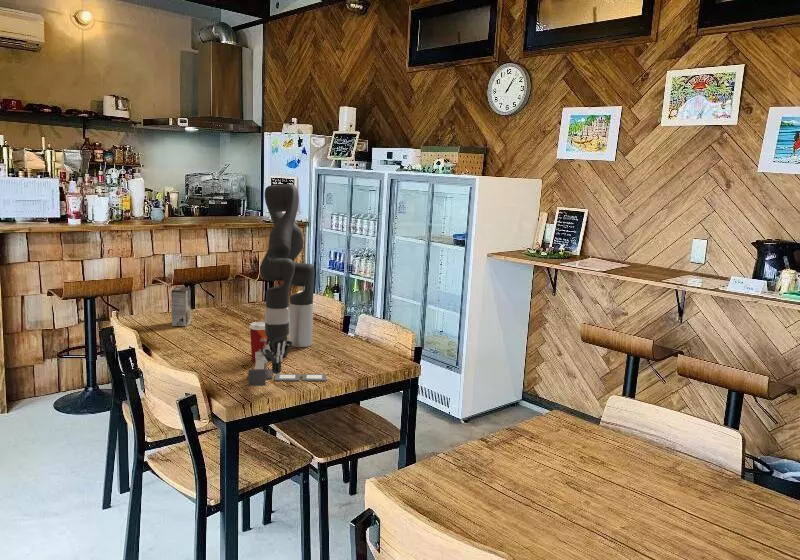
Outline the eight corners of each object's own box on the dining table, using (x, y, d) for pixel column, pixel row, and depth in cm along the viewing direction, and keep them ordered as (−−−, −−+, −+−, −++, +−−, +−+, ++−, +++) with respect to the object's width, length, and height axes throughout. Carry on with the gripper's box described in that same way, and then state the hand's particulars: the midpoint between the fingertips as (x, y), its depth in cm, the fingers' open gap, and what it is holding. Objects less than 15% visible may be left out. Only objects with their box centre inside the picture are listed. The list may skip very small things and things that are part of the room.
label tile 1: (276, 375, 208) (276, 373, 208) (299, 375, 209) (299, 373, 209) (274, 380, 202) (274, 379, 202) (299, 381, 204) (299, 379, 203)
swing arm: (254, 363, 209) (254, 349, 208) (269, 363, 209) (269, 349, 209) (248, 385, 187) (248, 370, 186) (265, 385, 188) (265, 370, 187)
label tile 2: (302, 375, 210) (302, 373, 209) (325, 375, 211) (326, 373, 211) (302, 381, 204) (302, 379, 204) (326, 381, 205) (326, 379, 205)
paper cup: (265, 364, 219) (265, 327, 216) (245, 362, 220) (245, 325, 218) (273, 358, 226) (274, 322, 224) (254, 356, 228) (255, 320, 225)
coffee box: (176, 321, 273) (176, 286, 270) (191, 322, 274) (191, 286, 271) (171, 326, 264) (170, 290, 261) (186, 327, 265) (186, 290, 262)
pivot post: (250, 371, 211) (250, 359, 210) (273, 371, 212) (274, 359, 211) (247, 378, 203) (247, 366, 203) (272, 378, 204) (272, 366, 204)
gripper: (281, 314, 200) (280, 365, 203) (253, 322, 188) (253, 376, 191) (299, 318, 196) (298, 369, 199) (272, 326, 185) (272, 381, 188)
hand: (276, 372), depth 195 cm, fingers closed
